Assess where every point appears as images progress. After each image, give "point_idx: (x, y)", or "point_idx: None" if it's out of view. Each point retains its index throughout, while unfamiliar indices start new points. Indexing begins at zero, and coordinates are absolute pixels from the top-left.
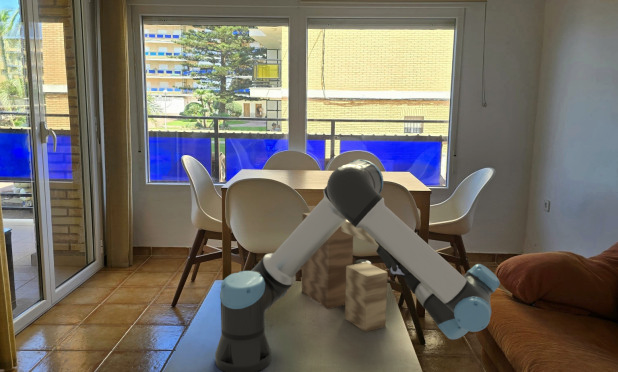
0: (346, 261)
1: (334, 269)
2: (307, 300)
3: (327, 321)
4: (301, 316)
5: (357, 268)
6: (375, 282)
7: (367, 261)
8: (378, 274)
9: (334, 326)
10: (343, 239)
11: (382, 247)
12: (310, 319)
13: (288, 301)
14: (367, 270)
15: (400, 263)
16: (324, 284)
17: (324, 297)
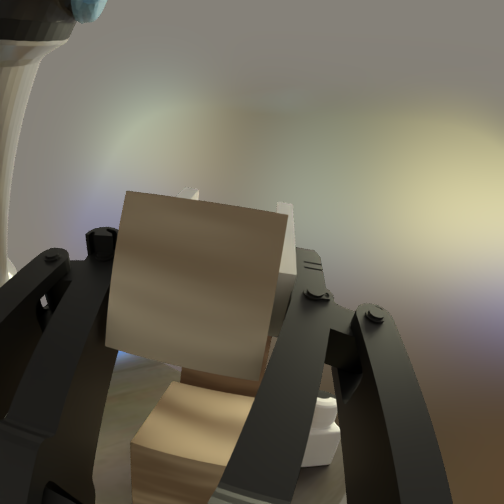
0: (241, 379)
1: (199, 386)
2: None
3: (118, 482)
4: (102, 441)
5: (181, 402)
6: (178, 482)
7: (330, 399)
8: (198, 461)
9: (107, 500)
10: None
11: (41, 268)
12: (102, 456)
13: (142, 410)
14: (194, 424)
15: (71, 498)
16: None
17: None
